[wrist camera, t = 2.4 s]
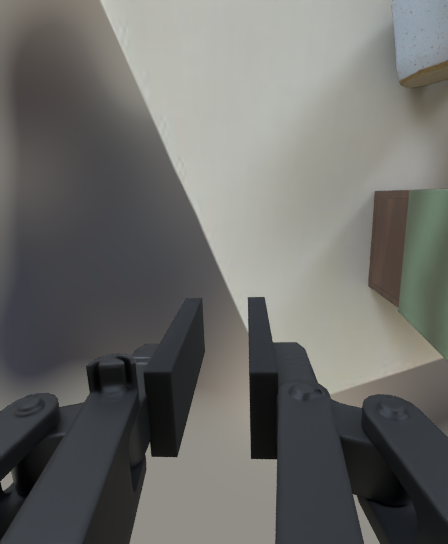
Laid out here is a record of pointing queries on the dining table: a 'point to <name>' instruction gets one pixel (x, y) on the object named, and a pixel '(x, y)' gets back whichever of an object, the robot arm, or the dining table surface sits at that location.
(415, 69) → the ceramic mug
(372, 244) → the chest
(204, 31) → the dining table surface
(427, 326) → the lid
